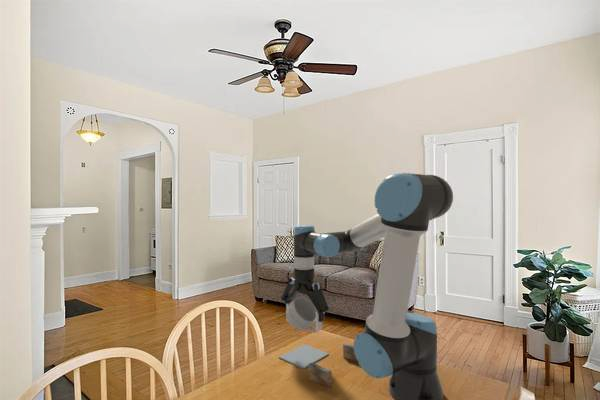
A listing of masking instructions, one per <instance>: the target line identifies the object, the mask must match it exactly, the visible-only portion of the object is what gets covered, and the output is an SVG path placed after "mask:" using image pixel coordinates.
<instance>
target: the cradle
mask: <svg viewBox="0 0 600 400" xmlns="http://www.w3.org/2000/svg"><path fill="white" fill-rule="evenodd" d="M342 348H343V349H342V357H343V358H345V359H347V360H350V361H352V362H355V363H358V364H359V362H358V360H357V358H356V356H355V352H354V345H352V344H349V343H347V342H346V343H343V344H342ZM332 373H333V371H332V370H331V369H329V368H326V367H324V366H321V365H318V364H316V363H310V364H309V367H308V379H309V380H311V381H313V382H315V383H317V384H320V385H322V386H324V387H327V388H328V389H329V388H331V387H332V385H333V384H332V383H333V381H332V380H333V379H332Z"/></svg>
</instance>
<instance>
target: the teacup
mask: <svg viewBox="0 0 600 400" xmlns="http://www.w3.org/2000/svg"><path fill="white" fill-rule="evenodd" d="M291 302H292V303H291V304H290V305H289V306H288V307H287V310H285V317H287V320H288V321H287V322H288V324H289V325H290V326H291V327H292V328H294V329H296V330H299V331H304V330H306V331H310V332H312V333H318V332H317V331H316V328H313V327H311V326H314V325H315V326H316V312H318V311H317V309H316V308H315V306H314V304H313V303H312V301H311V299H310V298H307V297H306V296H301V295H300V296H299V295H298V296H295V297H294V298H293V300H292V301H291Z"/></svg>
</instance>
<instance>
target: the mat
mask: <svg viewBox="0 0 600 400" xmlns="http://www.w3.org/2000/svg"><path fill="white" fill-rule="evenodd" d="M329 355H330V353H328V352H326V351H324V350H321V349H319V348H315V347H313V346H310V345H308V344H305V343H304V344H302V345H299V346H298V347H296V348H293V349H292V350H290V351H287V352H285V353H283V354H281V355H280V356H278V358H279V360H282V361H284V362H287V363H289V364H292V365H293V366H296V367H297V368H301V369H303V370H305V369H308V368H309V364H310V363H314V364H316V363H318V361H320V360H322V359H324V358H325V357H327V356H329Z"/></svg>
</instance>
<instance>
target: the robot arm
mask: <svg viewBox="0 0 600 400" xmlns="http://www.w3.org/2000/svg"><path fill="white" fill-rule="evenodd" d="M453 200H454V193H453V189H452V187H451V185H450V184H449V183H448V181H446V180H445V179H444V178H442V177H440V176H438V175H434V174H421V173H420V174H419V173H410V172H408V173H407V172H400V173H393V174H391V175H388V176H387V177H386V178H384V179H383V180H382V181H381V182H380V183H379V185H378V186H377V188H376V191H375V195H374V207H375V208H376V209H377V210H376V213H377V214H375V215H373V216H372V217H369V218H367V219H366V220H363V221H362V222H361V223H359V224H357V225H355V226H353V227H351V228H350V229H348V230H345V231H334V232H316V230H315V226H314V225H313V224H311V225H310V224H297V225H296V226H294V227H293V228H294V230H293V276H292V277H290V278H288V279H287V284H286V287H285V289H284V290H283V293H282V296H281V298H280V299H281V301H284V304H285V306H284V307H285V309H284V310H285V311H286V310H287V307H288V306H289V305H290V304H291V303H292V302H293V301H294V299H295V298H296V297H297V295H298V293H299V294H303V295H306V296H307V297H308V299H309V300H310V301H311V302H312V303H313V304H314V306H315V308H316V309H317V312H316V325H315V329H316V331H317V332H316V333H319V332H320V331H322V330H323V322H324V321H325V313H327V312H329V309H330V308H329V305H328V303H327V301H326V300H327V299H326V298H325V296H324V292H323V291H322V284H321V283H320V282H318V283H314V279H315V268H314V267H315V255H316V256H320V257H323V258H326V257H327V258H332V257H335V255H337V254H338V255H339V254H344V253H346V254H347V253H355V252H360V251H362V250H364V248H365V247H366V246H369V244H372V243H374V242H376V241H378V240H381V239H383V244H382V251H381V252H382V253H381V256H380V257H381V258H380V266H379V271H378V276H377V277H378V278H377V285H376V291H375V296H374V297H375V298H374V306H373V311H372V314H370V315H368V316H367V317H366V319H365V326H364V332H359V334H357V335H356V336H355V338H354V341H353V346H354V352H355V356H356V358H357V360H358V362H359V363H358V362H357V363H358V365H359V366H360V367H361V369H362V370H363V371H364V372H365V373H366V374H367V375H368V376H370V377H371V378H374V379H384V378H387V377H390V379H389V382H388V392H389V395H390V397H392V398H393V399H394V400H444V389H443V386H442V384H441V380H440V377H439V374H438V371H437V370H438V367H437V366H438V364H437V363H438V361H437V359H438V355H437V353H438V352H437V351H438V332H437V331H438V330H437V329H438V328H437V327H438V326H437V322H436V321H435V320H434V319H432V318H431V317H429V316H427V315H423V314H420V313H419V314H418V313H415V312H409V304H410V297H411V293H412V287H413V281H414V273H415V268H416V263H417V256H418V250H419V244H420V238H421V236H422V235H424V234H426V233H427V232H428V229H429V225H430V221H433V220H434V219H437V218H440V217H443V216H444V215H445V214H446V213H447V212H448V211H449V210H450V208H451V207H452V204H453V202H454V201H453ZM294 285H295V286H294ZM285 317H286V316H285ZM285 321H286V322H288V320H287V317H286V320H285Z"/></svg>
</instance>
